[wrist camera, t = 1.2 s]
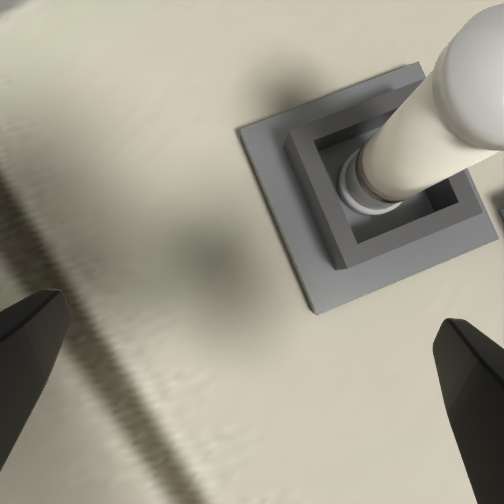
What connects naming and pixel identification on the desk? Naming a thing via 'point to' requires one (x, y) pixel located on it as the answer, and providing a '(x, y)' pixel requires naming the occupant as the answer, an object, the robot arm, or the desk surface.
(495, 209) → the desk surface
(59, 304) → the robot arm
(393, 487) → the desk surface
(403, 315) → the desk surface
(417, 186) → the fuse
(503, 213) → the parts tray
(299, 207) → the grey square socket base
